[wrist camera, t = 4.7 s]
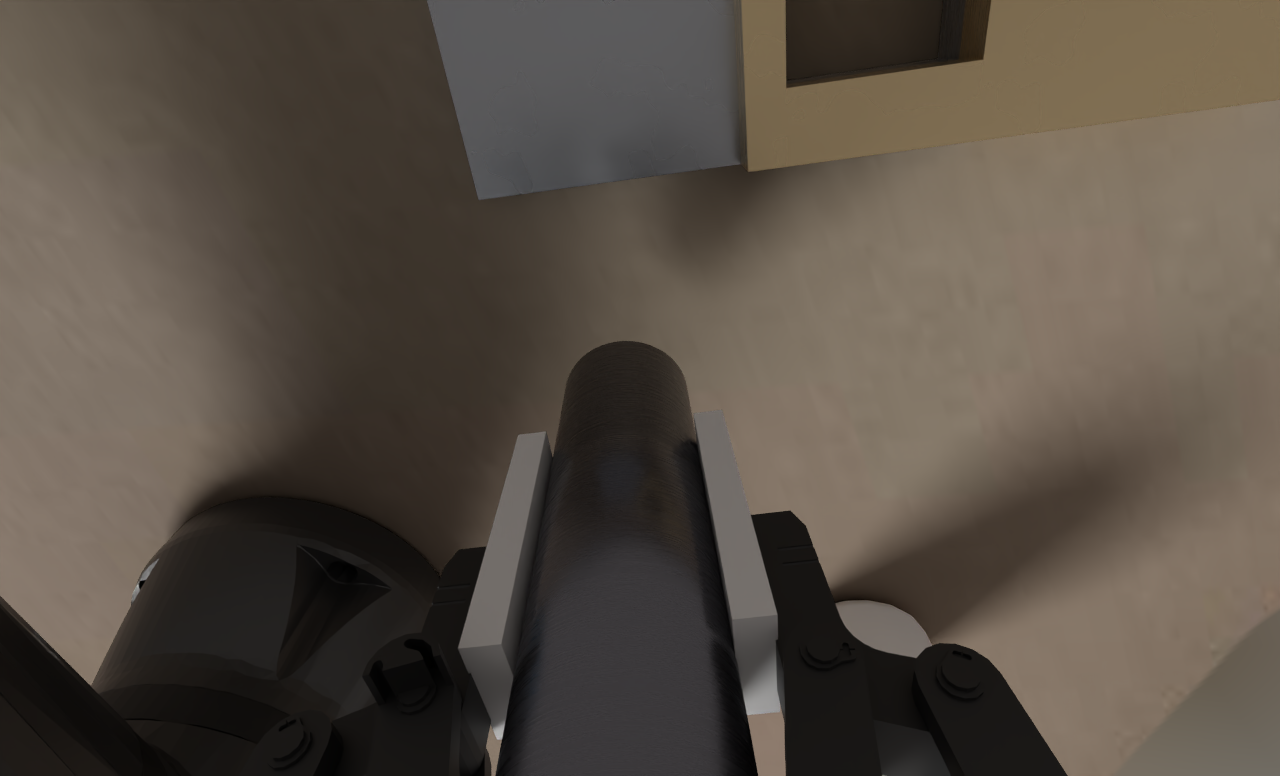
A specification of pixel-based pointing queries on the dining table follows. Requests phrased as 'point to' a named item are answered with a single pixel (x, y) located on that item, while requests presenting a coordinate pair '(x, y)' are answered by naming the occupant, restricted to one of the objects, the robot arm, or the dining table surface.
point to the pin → (626, 592)
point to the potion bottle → (883, 627)
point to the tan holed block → (817, 81)
